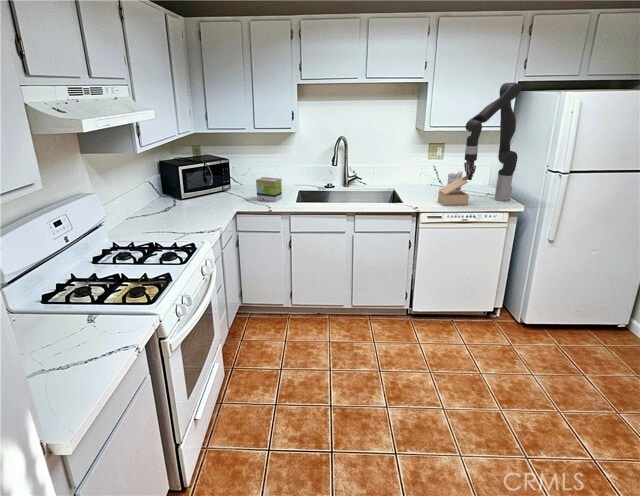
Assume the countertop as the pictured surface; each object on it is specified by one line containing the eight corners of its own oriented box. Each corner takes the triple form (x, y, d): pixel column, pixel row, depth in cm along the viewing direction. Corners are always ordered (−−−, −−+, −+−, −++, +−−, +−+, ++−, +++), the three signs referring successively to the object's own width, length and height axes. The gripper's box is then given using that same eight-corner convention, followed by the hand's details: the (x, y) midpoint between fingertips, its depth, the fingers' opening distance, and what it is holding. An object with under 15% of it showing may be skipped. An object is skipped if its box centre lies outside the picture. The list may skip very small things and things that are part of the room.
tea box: (256, 200, 286) (255, 179, 281) (263, 197, 295) (262, 176, 289) (275, 202, 281) (274, 181, 276) (282, 198, 290) (281, 178, 284)
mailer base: (460, 200, 281) (461, 190, 279) (467, 205, 270) (468, 194, 268) (437, 201, 280) (438, 191, 278) (443, 205, 269) (445, 195, 267)
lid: (468, 173, 275) (467, 171, 274) (476, 177, 264) (475, 175, 263) (439, 190, 278) (438, 188, 277) (445, 195, 267) (444, 193, 266)
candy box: (453, 197, 289) (456, 174, 283) (445, 196, 293) (448, 173, 287) (460, 193, 300) (463, 171, 294) (452, 192, 303) (455, 170, 297)
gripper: (481, 154, 257) (478, 181, 264) (472, 150, 270) (469, 176, 277) (470, 154, 257) (467, 182, 263) (461, 151, 270) (459, 177, 276)
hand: (468, 179), depth 270 cm, fingers closed on lid, 3 cm apart
